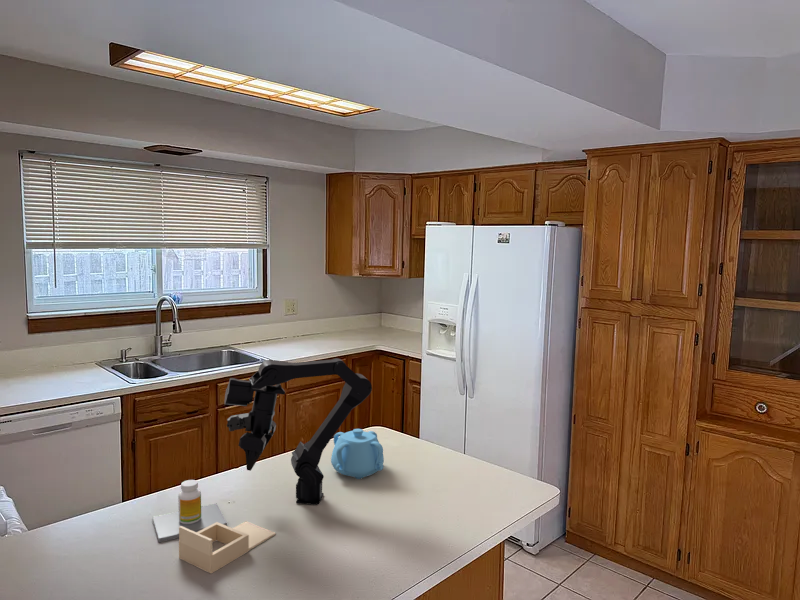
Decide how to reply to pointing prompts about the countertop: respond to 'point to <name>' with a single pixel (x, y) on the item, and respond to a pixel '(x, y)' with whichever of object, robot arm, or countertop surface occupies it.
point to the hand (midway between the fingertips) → (252, 464)
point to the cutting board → (170, 524)
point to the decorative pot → (357, 453)
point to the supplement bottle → (189, 502)
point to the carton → (237, 541)
